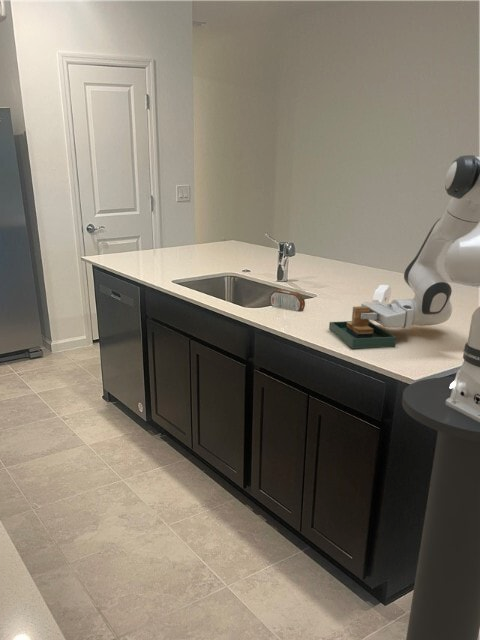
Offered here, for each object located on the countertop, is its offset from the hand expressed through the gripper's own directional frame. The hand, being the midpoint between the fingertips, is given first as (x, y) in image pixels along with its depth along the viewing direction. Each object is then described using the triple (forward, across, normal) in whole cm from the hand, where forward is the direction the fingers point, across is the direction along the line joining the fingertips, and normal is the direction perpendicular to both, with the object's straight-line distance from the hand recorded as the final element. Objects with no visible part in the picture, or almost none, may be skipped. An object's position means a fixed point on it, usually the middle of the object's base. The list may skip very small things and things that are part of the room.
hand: (358, 314), depth 176 cm
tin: (+13, -39, +8) cm, 42 cm away
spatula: (-15, -23, +6) cm, 28 cm away
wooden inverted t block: (-1, 0, +7) cm, 7 cm away
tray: (-1, +1, +8) cm, 8 cm away
